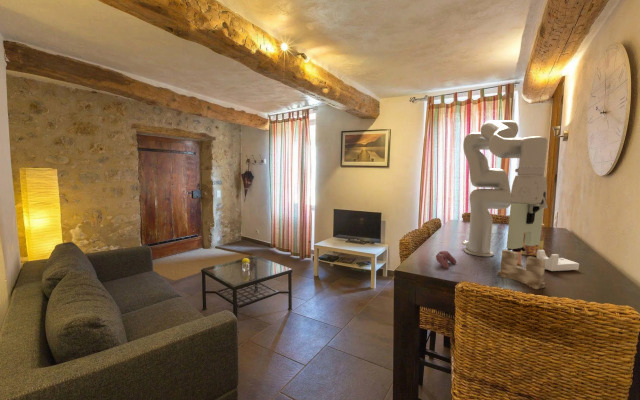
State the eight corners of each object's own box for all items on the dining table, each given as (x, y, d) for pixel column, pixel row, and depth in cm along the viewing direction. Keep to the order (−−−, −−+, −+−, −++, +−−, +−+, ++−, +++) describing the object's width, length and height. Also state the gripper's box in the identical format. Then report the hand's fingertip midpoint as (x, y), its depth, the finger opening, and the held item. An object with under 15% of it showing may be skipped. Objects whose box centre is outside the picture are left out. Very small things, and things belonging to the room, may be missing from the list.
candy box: (539, 254, 140) (542, 223, 139) (542, 256, 137) (545, 225, 135) (518, 251, 144) (521, 221, 142) (520, 254, 140) (523, 223, 138)
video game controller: (447, 265, 128) (441, 250, 129) (457, 263, 125) (451, 247, 126) (438, 270, 121) (432, 254, 122) (449, 268, 118) (442, 252, 119)
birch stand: (497, 275, 112) (499, 250, 111) (505, 273, 114) (508, 248, 113) (536, 289, 100) (539, 261, 99) (544, 287, 102) (547, 259, 101)
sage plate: (506, 247, 103) (510, 203, 101) (533, 243, 110) (538, 201, 108) (512, 249, 101) (516, 204, 99) (539, 244, 108) (544, 202, 106)
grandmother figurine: (521, 263, 126) (523, 235, 125) (526, 266, 122) (529, 237, 121) (502, 263, 127) (505, 235, 125) (507, 266, 123) (510, 237, 121)
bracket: (551, 273, 116) (553, 255, 115) (535, 267, 123) (537, 250, 122) (578, 271, 118) (580, 253, 117) (561, 265, 125) (563, 248, 124)
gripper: (502, 171, 108) (497, 219, 110) (549, 172, 94) (543, 228, 96) (515, 171, 111) (510, 218, 113) (563, 172, 97) (556, 226, 99)
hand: (525, 222), depth 104 cm, fingers closed on sage plate, 2 cm apart
